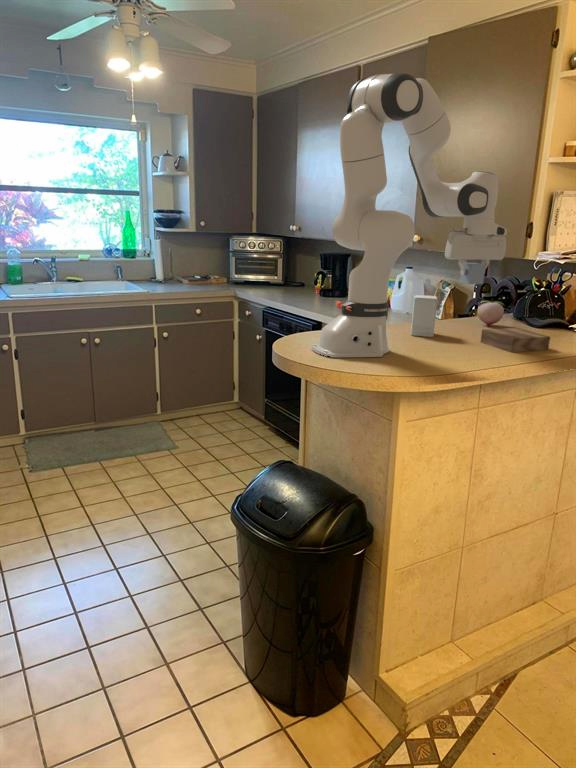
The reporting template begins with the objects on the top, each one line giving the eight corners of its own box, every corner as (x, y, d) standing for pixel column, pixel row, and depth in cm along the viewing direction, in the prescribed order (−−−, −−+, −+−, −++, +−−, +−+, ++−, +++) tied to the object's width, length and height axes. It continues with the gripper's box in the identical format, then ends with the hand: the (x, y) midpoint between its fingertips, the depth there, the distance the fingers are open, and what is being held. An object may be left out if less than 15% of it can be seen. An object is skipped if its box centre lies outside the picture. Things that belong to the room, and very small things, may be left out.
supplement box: (433, 337, 188) (437, 298, 184) (410, 335, 189) (414, 297, 186) (432, 333, 195) (436, 295, 191) (410, 331, 196) (414, 294, 193)
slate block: (469, 284, 177) (472, 264, 175) (459, 282, 181) (462, 262, 180) (483, 284, 179) (485, 264, 177) (472, 282, 183) (475, 262, 181)
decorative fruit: (480, 327, 207) (483, 299, 204) (473, 323, 215) (476, 296, 212) (506, 328, 207) (510, 300, 204) (498, 324, 215) (501, 297, 212)
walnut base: (511, 352, 170) (513, 338, 169) (480, 342, 183) (482, 329, 182) (548, 349, 175) (550, 336, 174) (515, 339, 188) (517, 327, 186)
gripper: (455, 228, 169) (450, 275, 173) (511, 229, 176) (505, 275, 180) (443, 227, 175) (438, 273, 179) (497, 229, 182) (492, 273, 186)
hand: (472, 274), depth 179 cm, fingers closed on slate block, 5 cm apart
